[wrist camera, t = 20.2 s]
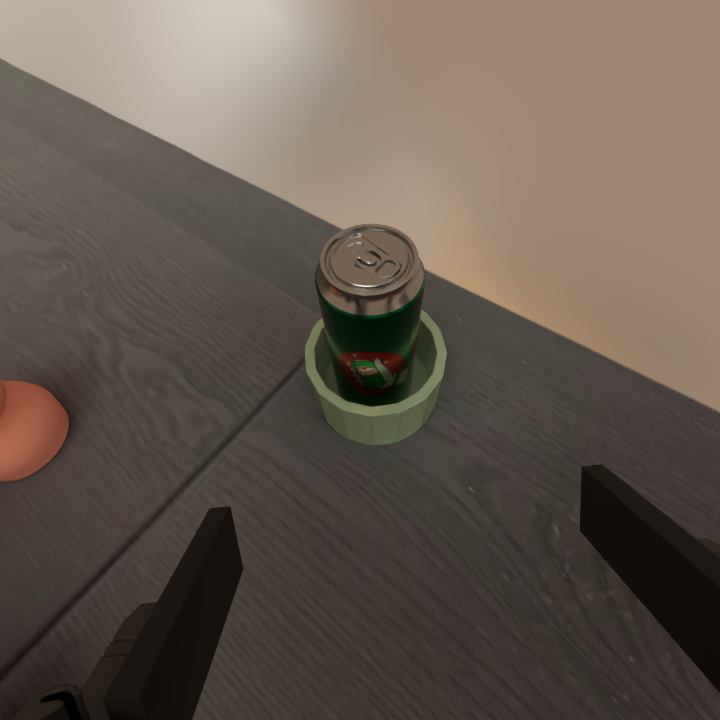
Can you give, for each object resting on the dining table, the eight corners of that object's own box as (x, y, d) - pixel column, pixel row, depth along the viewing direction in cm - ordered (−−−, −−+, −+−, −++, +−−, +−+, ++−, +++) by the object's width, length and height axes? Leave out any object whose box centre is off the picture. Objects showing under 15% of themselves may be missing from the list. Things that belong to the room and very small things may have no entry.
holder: (394, 321, 31) (396, 277, 27) (460, 406, 27) (475, 370, 23) (297, 370, 29) (282, 331, 25) (353, 469, 25) (347, 442, 21)
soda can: (368, 341, 29) (360, 203, 19) (425, 378, 28) (450, 247, 17) (322, 390, 28) (287, 265, 17) (380, 433, 26) (379, 322, 16)
